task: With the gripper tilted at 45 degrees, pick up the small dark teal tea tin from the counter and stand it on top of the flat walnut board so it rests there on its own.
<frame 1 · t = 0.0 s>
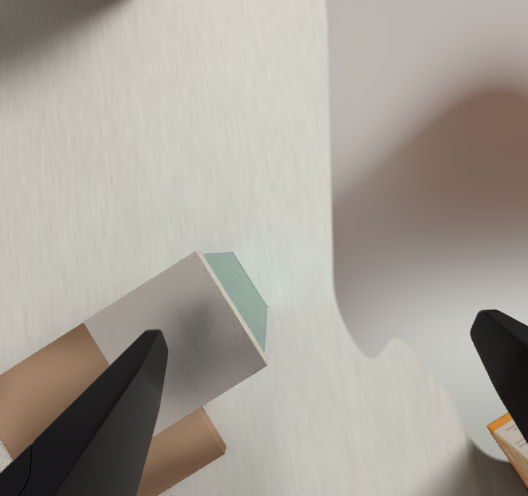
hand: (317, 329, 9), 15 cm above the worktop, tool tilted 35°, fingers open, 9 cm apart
walnut board: (107, 412, 24), on the worktop
tea tin: (223, 296, 24), on the worktop
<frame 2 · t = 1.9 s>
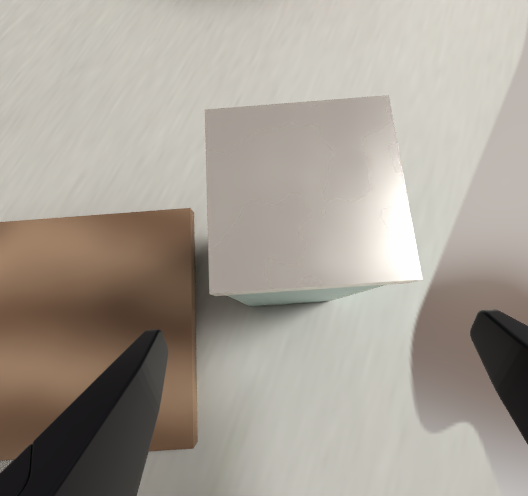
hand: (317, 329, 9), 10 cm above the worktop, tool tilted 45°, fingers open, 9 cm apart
walnut board: (91, 325, 20), on the worktop
tea tin: (286, 264, 20), on the worktop
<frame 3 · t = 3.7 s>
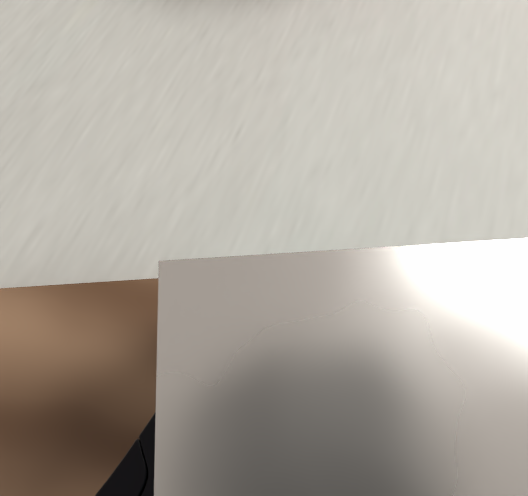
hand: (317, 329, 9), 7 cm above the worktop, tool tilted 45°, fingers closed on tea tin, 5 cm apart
walnut board: (43, 430, 15), on the worktop
tea tin: (301, 353, 15), on the worktop, touching gripper
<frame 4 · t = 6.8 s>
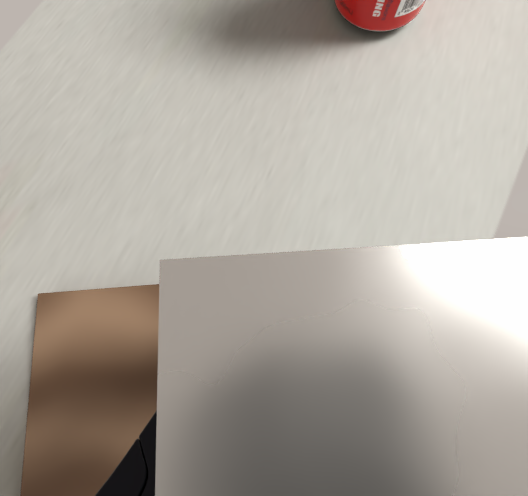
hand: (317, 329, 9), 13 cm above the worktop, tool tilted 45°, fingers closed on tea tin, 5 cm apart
walnut board: (141, 385, 22), on the worktop
tea tin: (302, 353, 15), point 7 cm above the worktop, touching gripper
soda can: (374, 6, 28), on the worktop
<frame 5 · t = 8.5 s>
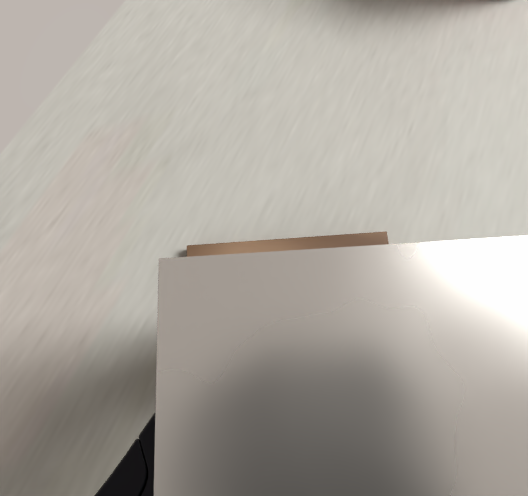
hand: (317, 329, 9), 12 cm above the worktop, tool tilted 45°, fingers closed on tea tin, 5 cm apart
walnut board: (293, 340, 21), on the worktop
tea tin: (301, 353, 15), point 6 cm above the worktop, touching gripper
when the fingers open (9 cm above the worktop, at t = 9.8 s): tea tin drops 2 cm, point 1 cm above the worktop.
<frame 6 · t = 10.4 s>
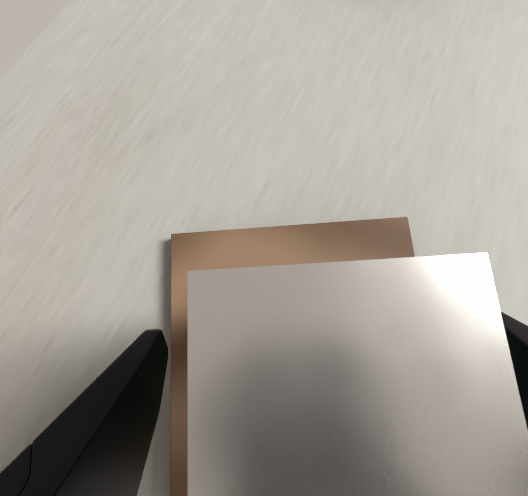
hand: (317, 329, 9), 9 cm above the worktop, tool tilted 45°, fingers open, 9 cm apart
walnut board: (297, 346, 18), on the worktop
tea tin: (297, 348, 16), point 1 cm above the worktop
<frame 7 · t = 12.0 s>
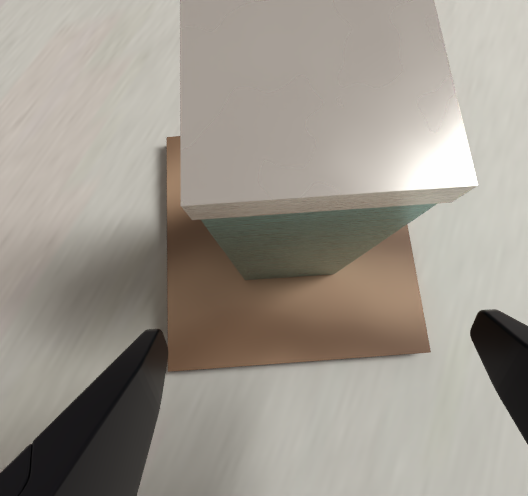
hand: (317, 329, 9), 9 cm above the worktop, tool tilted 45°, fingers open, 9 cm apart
walnut board: (285, 241, 19), on the worktop
tea tin: (285, 234, 18), point 1 cm above the worktop
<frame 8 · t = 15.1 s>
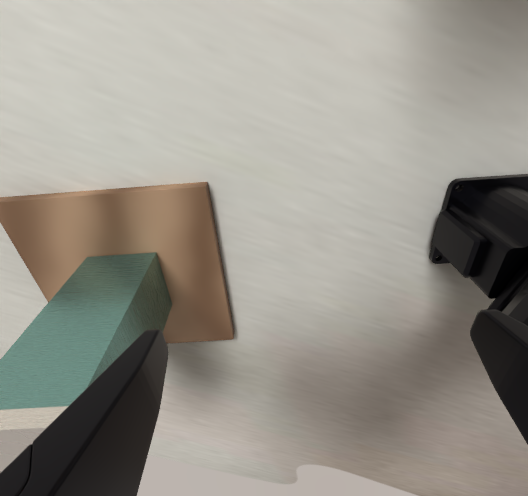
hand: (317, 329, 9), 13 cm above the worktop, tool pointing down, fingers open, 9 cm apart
walnut board: (136, 269, 24), on the worktop, touching tea tin
tea tin: (132, 281, 23), point 1 cm above the worktop, touching walnut board
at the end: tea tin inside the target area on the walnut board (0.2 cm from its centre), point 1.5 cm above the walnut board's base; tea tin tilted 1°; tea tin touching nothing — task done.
